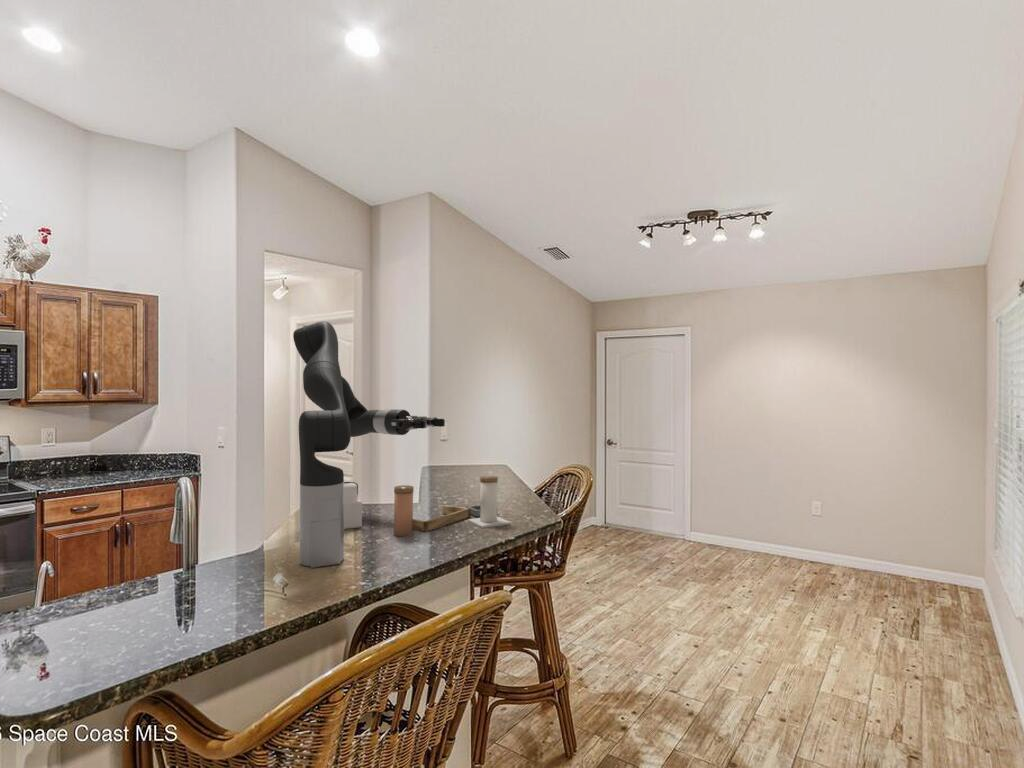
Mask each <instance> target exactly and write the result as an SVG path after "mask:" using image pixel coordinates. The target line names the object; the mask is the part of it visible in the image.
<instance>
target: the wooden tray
mask: <svg viewBox="0 0 1024 768" xmlns="http://www.w3.org/2000/svg"><path fill="white" fill-rule="evenodd" d="M442 514H443V515H440V516H438V517H434V518H431V519H428V520H422V519H415V518H413V529H414V530H415V531H419V530H420V531H421V532H425V531H427V532H429V530H430V531H433V530H435V528H436V529H439V528H442V527H445V526H447V525H446V524H448V525H450V524H449V523H451V524H453V523H452V522H454V523H456V522H455V521H457V522H459V520H460V521H462V519H463V520H465V518H466V519H469V518H471V515H470V508H466V507H464V506H463V507H461V506H454V505H448V504H447V505H446V504H444V505H442ZM446 514H447V515H446ZM468 517H469V518H468ZM444 525H445V526H444ZM441 526H442V527H441ZM438 527H439V528H438ZM432 529H433V530H432Z"/></svg>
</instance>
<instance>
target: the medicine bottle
mask: <svg viewBox="0 0 1024 768" xmlns="http://www.w3.org/2000/svg"><path fill="white" fill-rule="evenodd" d="M343 482H344V530H350V529H356V528H357V529H359V528H362V527H363V502H362V500H360V499H359V498H358V497H359V485H358V483H356V482H353V481H343Z"/></svg>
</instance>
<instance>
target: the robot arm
mask: <svg viewBox="0 0 1024 768" xmlns="http://www.w3.org/2000/svg"><path fill="white" fill-rule="evenodd" d="M292 336H293V337H292V338H293V342H294V345H295V348H296V350H297V352H298V354H299V356H300V357H301V359H302V360H303V362H304V363H305V366H304V369H303V372H302V383H303V385H302V387H303V390H304V394H305V395H306V396H307V398H308V400H310V401H311V402H312V403H314V404H315V405H316V406H318V407H319V408H320V409H321V410H305V411H303V412H302V413H300V415H299V418H298V445H299V460H300V461H299V472H300V473H299V563H300V564H301V565H302V566H304V567H305V566H306V567H310V568H312V569H314V568H319V567H327V566H332V565H340V564H341V563H342V561H343V560H344V559H345V558H344V557H345V554H344V553H345V548H344V547H345V541H344V538H345V535H344V534H345V533H344V532H345V531H344V530H345V529H344V482H345V480H344V479H345V478H344V476H345V475H344V474H345V473H344V471H343V469H342V468H341V467H337V466H333V465H330V464H327V463H324V462H322V461H321V460H319V459H318V458H317V457H316V453H331V452H332V453H333V452H341V451H342V452H343V451H344V450H346V449H348V446H350V442H351V438H355V437H361V436H364V435H368V434H370V433H372V434H374V433H375V434H382V435H393V436H394V435H395V436H404V435H405V436H406V435H407V434H408V433H409V432H410V430H417V429H427V428H428V427H429V428H430V427H432V428H434V427H440V428H441V427H445V426H446V424H445V422H446V421H445V418H438V417H427V416H418V415H411V413H410V412H409V411H408V410H406V409H390V408H389V409H369V410H368V409H367V408H366V407H365V406H364V405H363V404H362V403H361V401H360V400H359V399H358V398H357V397H356V396H355V393H354V392H353V390H352V387H351V385H350V383H349V382H348V381H347V379H346V378H345V377H343V376H342V372H341V368H340V362H339V340H338V335H337V331H336V329H335V328H334V326H333V324H332V323H330V322H329V321H326V320H324V321H323V320H321V321H319V322H318V321H317V322H315V323H312V324H308V325H305V326H302V327H300V328H297V329H295V330H294V331H293V334H292Z"/></svg>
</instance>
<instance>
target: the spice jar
mask: <svg viewBox="0 0 1024 768" xmlns="http://www.w3.org/2000/svg"><path fill="white" fill-rule="evenodd" d="M498 479H499V477H498V476H496V475H481V476H479V482H480V489H479V491H480V495H479V496H480V502H479V503H480V504H479V505H480V517H479V518H480V521H482V522H496V521H497V516H498V482H499V480H498Z"/></svg>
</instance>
